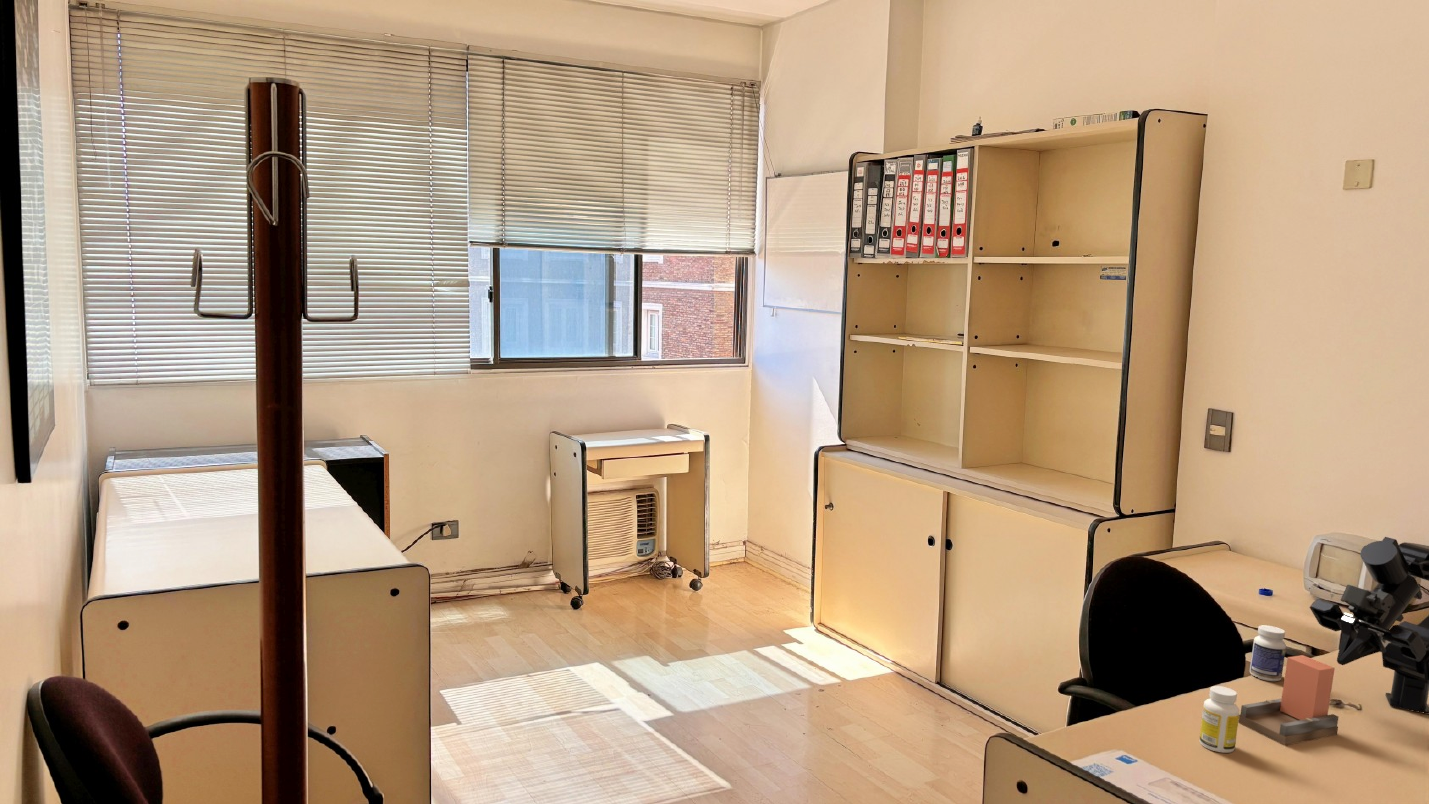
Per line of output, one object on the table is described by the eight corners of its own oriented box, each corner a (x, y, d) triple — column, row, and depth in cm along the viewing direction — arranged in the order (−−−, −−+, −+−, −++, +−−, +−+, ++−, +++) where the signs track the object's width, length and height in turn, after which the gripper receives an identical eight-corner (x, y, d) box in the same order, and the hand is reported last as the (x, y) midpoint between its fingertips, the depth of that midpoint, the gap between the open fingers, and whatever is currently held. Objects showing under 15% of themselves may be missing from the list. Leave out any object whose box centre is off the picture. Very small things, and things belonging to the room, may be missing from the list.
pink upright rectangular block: (1294, 707, 183) (1302, 655, 182) (1326, 722, 178) (1334, 668, 177) (1279, 710, 182) (1287, 657, 180) (1311, 725, 176) (1319, 670, 175)
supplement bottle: (1231, 742, 172) (1239, 687, 170) (1236, 756, 166) (1244, 700, 165) (1196, 736, 173) (1204, 681, 172) (1200, 749, 168) (1208, 693, 167)
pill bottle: (1285, 684, 199) (1292, 635, 198) (1254, 680, 200) (1260, 631, 199) (1275, 673, 205) (1282, 625, 204) (1245, 669, 206) (1251, 622, 205)
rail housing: (1289, 713, 185) (1292, 695, 185) (1336, 734, 177) (1339, 716, 177) (1238, 722, 180) (1240, 703, 179) (1284, 745, 172) (1287, 726, 171)
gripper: (1323, 556, 190) (1275, 617, 187) (1427, 587, 174) (1375, 655, 170) (1345, 594, 195) (1297, 654, 192) (1447, 628, 178) (1398, 694, 175)
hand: (1339, 663), depth 182 cm, fingers closed
